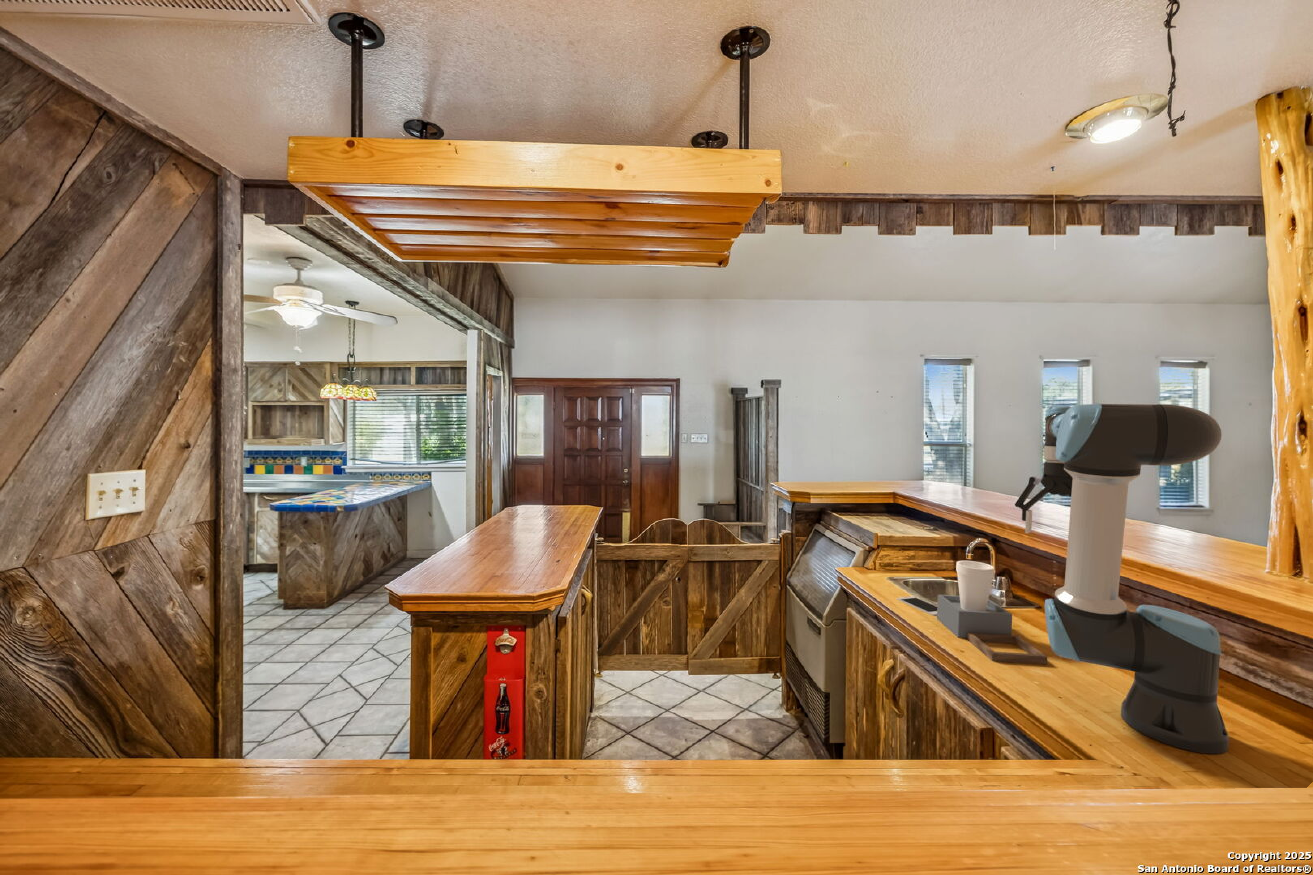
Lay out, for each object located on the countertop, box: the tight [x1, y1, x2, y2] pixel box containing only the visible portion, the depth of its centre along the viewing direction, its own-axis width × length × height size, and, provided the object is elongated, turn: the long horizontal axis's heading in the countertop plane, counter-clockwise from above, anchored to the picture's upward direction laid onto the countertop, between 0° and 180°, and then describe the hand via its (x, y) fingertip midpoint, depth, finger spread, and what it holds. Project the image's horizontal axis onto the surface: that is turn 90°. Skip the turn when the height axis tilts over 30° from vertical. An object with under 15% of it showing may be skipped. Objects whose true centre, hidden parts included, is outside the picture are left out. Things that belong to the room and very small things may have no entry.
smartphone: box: [896, 595, 937, 617], centre depth 171 cm, size 7×15×1 cm, turn 18°
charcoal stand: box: [936, 594, 1013, 639], centre depth 152 cm, size 14×14×8 cm
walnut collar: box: [966, 632, 1048, 665], centre depth 138 cm, size 13×13×2 cm
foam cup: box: [955, 560, 995, 611], centre depth 152 cm, size 10×9×13 cm
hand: (1056, 537), depth 146 cm, fingers open, 13 cm apart
